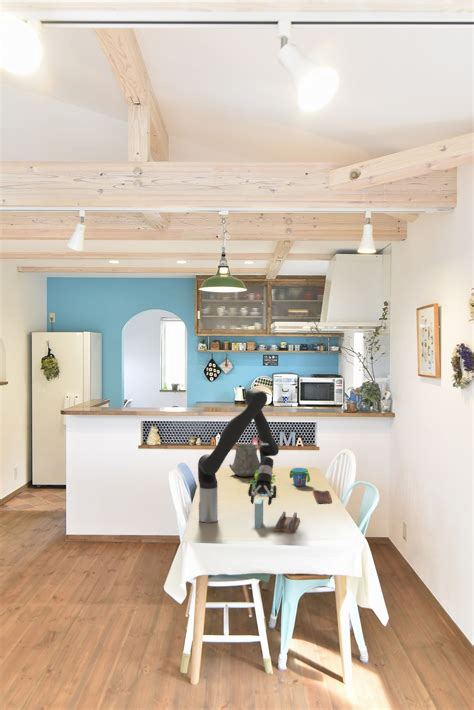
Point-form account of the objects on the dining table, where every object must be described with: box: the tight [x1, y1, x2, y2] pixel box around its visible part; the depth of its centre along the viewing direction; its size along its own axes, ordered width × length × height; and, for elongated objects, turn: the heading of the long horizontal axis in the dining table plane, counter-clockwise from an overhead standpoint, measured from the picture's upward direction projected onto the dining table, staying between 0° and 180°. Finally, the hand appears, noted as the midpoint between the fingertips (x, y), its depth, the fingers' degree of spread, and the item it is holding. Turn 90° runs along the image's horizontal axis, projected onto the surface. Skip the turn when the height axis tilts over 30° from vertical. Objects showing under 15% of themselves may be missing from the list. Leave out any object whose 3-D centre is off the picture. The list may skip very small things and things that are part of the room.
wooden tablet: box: [312, 489, 333, 505], centre depth 318 cm, size 26×2×10 cm
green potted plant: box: [249, 470, 259, 491], centre depth 335 cm, size 11×9×11 cm
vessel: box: [228, 444, 260, 478], centre depth 371 cm, size 22×22×20 cm
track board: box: [273, 511, 301, 534], centre depth 269 cm, size 10×20×4 cm, turn 166°
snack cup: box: [289, 467, 311, 487], centre depth 344 cm, size 16×10×10 cm
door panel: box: [254, 498, 264, 529], centre depth 269 cm, size 3×7×12 cm, turn 166°
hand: (260, 503), depth 273 cm, fingers open, 8 cm apart
